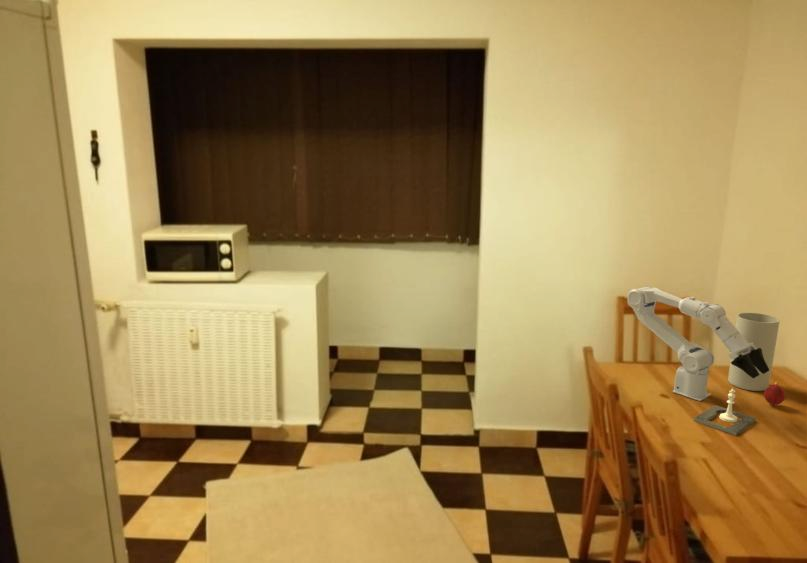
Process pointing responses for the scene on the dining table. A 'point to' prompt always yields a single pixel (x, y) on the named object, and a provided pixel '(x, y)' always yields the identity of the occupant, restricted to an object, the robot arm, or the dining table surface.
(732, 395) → the chess piece
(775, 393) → the onion
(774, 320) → the cylinder vase
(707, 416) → the keyhole plate
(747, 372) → the robot arm
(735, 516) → the dining table surface
